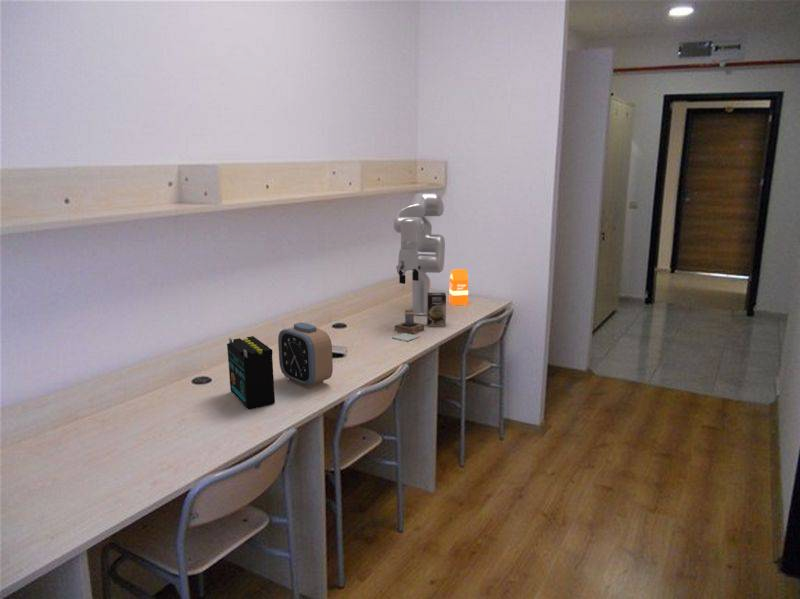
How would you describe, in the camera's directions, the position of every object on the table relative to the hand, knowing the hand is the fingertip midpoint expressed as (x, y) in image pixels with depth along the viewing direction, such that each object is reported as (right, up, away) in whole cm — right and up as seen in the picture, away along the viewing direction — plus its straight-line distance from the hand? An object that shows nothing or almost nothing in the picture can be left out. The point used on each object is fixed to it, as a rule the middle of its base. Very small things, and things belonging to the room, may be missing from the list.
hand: (409, 281), depth 287 cm
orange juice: (+29, -11, +59) cm, 66 cm away
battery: (-56, -43, -74) cm, 102 cm away
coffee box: (+14, -21, +15) cm, 29 cm away
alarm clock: (-39, -39, -60) cm, 82 cm away
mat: (-2, -26, -6) cm, 27 cm away
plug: (0, -23, +6) cm, 24 cm away
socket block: (0, -23, +6) cm, 24 cm away
